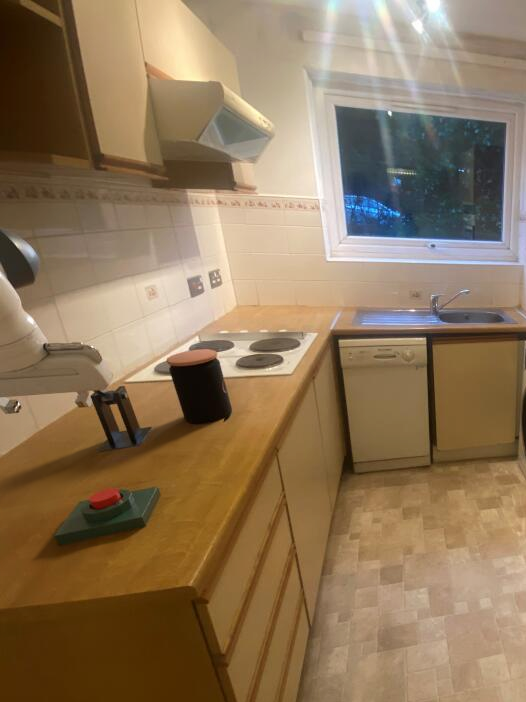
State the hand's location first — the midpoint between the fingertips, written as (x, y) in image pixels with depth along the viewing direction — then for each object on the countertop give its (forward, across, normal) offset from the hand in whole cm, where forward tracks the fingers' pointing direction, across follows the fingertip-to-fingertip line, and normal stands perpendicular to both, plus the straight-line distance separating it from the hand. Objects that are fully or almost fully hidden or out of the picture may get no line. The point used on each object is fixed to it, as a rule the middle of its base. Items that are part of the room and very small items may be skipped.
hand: (51, 407), depth 75 cm
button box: (+17, -6, +14) cm, 22 cm away
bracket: (+30, +2, -17) cm, 34 cm away
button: (+13, -6, +12) cm, 19 cm away
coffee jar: (+32, -14, -24) cm, 42 cm away
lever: (+14, +2, -17) cm, 22 cm away
